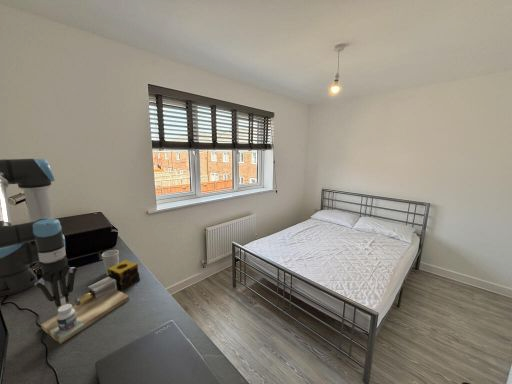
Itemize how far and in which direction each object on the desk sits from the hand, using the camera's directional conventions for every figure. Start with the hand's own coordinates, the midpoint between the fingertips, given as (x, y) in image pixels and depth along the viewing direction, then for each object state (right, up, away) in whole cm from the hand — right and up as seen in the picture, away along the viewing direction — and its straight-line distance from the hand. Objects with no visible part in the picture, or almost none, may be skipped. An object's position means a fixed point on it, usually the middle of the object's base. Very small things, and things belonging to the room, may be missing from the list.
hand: (63, 310), depth 87 cm
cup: (-3, +3, +35) cm, 35 cm away
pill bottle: (+7, -3, -6) cm, 10 cm away
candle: (+10, 0, +25) cm, 27 cm away
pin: (+4, +1, +8) cm, 9 cm away
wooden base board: (+7, -3, +5) cm, 9 cm away
